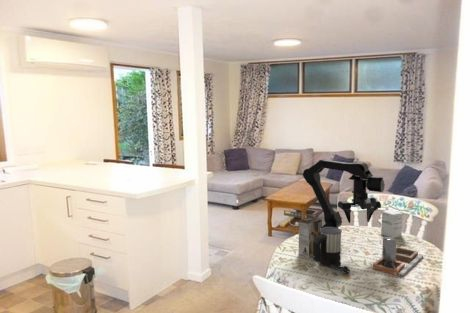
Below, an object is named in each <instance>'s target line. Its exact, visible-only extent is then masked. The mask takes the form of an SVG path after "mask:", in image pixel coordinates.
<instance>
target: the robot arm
mask: <svg viewBox="0 0 470 313" xmlns="http://www.w3.org/2000/svg"><path fill="white" fill-rule="evenodd" d="M324 169H329V170H333V171H334V170H336V171H341V172H342V171H343V172H346V173H349V174H350V175H351V176H349V178H348V180H351V181H353V186H352V187H353V190H351V193H352V199H351V202H349V201H348V200H339V201H338V202H337V207H338V208H339V209H341V210H343V213H344V214H345V216H346V220H347V223H349V224H351V220H352V219H351V212H352V209H351V208H353V207H354V208H355V207H356V208H357V207H358V208H360V209H361V210H366V220H367V221H366V222H367V223H370V220H371V218H372V216H373V214H374V213H375V211H378V210H379V209H381V208H382V203H381V201H379V200H378V199H376V197H369V195H368V192H369V191H370V192H373V193H375V192H376V193H384V191H385V187H386V186H385V180H384V177H383V176H374V175H373V173H372V172H371V171H370V169H369V165H368V164H367V163H366V162H365V161H364V162H363V161H361V162H359V161H358V162H357V161H356V162H343V161H338V160H330V159H325V158H324V159H319V160H318V161H317V162H316V163H314V164H313V165H311V166H310V167H309V168H306V169H304V170H303V172H302V177H303V178H304V179H303V180H305V181H306V183H307V184H308V185H309V186H310V187H311V188H312V190H313V192H314V195H315V197H316V199H317V201H318V203H319V205H320V207H321V210H322V213H323V220H324V223H325V224H324V225H322V227H335V228H339V227H341V226H342V223H343V217H342V216H341V214H340V211H336V210H334V209H333V206H332V205H331V202H330V200H329V198H328V196H327V194H326V192H325V190H324V188H323V186H322V184H321V182H322V181H321V175H320V173H321V172H323V171H324ZM367 190H368V192H367Z"/></svg>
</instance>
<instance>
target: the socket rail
mask: <svg viewBox="0 0 470 313" xmlns="http://www.w3.org/2000/svg"><path fill="white" fill-rule="evenodd" d="M404 254H405V255H404ZM408 255H409V256H408ZM423 258H424V255H423V254H419V251H416V250H412V249H409V248H408V249H407V248H403V247H399V246H396V266H395V269H392V268H389V267H385V266H382V256H381V257H380V258H379V259H377V260H376V261H375V262H374V263H373V262H372V263H373V264H372V269H373V270H377V271H378V272H383V273H387V274H389V275H392V276H396V277H397V276H398V277H401V278H404V276H406V274H408V272H409V271H410V270H412V269H413V267H415V266H416V265H417V264H418V263H419V262H420V261H421V260H422V259H423ZM397 260H400V261H397ZM402 261H403V262H402ZM404 262H405V263H404ZM406 262H408V264H407V265H406Z"/></svg>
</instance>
